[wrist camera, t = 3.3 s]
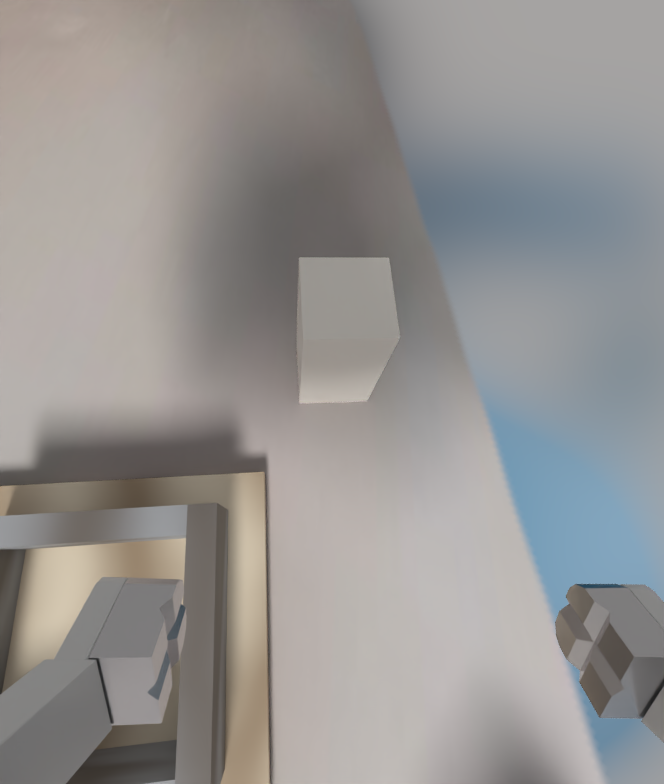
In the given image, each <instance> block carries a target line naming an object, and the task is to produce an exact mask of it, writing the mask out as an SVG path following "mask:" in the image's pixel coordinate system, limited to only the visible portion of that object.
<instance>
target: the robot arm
mask: <svg viewBox="0 0 664 784" xmlns="http://www.w3.org/2000/svg"><path fill="white" fill-rule="evenodd" d="M183 595H184V585H183V580H180V579H157V578H132V577H129V578H125V577H102V578H101V579H100V580H99V581H98V582H97V583H96V584H95V586H94V587H93V589H92V591H91V593H90V595H89V596H88V598H87V600H86V602H85V604H84V605H83V607H82V609H81V611H80V613H79V614H78V616H77V618H76V620H75V622H74V624H73V625H72V627H71V629H70V631H69V633H68V634H67V636H66V638H65V640H64V642H63V643H62V645H61V647H60V649H59V651H58V652H57V654H56V656H55V658H54V659H46V660H44V661H42V662H41V663H40V664H38V665H37V666H36V667H35V668H33V669H32V670H31V671H30V672H28V673H27V674H26V675H24V676H23V677H22V678H21V679H19V680H18V681H17V682H16V683H14V684H13V685H12V686H10V687H9V688H8V689H7V690H5V691H4V692H3V693H2V694H0V784H66V783H67V782H68V781H69V779H70V778H71V777H72V776H73V775H74V774H75V772H76V771H77V770H78V769H79V768H80V766H81V765H82V764H83V763H84V762H85V761H86V759H87V758H88V757H89V756H90V755H91V753H92V752H93V751H94V750H95V749H96V747H97V746H98V745H99V744H100V743H101V742H102V740H103V739H104V738H105V737H106V736H107V734H108V733H109V732H110V731H111V730H112V726H113V725H136V724H159V723H162V720H163V716H164V713H165V709H166V706H167V702H168V699H169V695H170V692H171V688H172V685H173V683H172V674H171V668H172V667H173V666H174V665H175V664H176V663H177V662H178V661H179V659H180V656H181V652H182V648H183V644H184V638H185V632H186V618H187V616H186V608H185V607H184V606H183V605H182V604H181V602H182V598H183ZM566 598H567V600H568V602H569V604H568V605H567V606H566V607H564V608H563V609H562V610H561V611H559V614H558V616H557V619H556V622H555V625H556V637H557V640H558V643H559V646H560V648H561V650H562V652H563V654H564V655H565V657H566V659H567V660H568V661H569V662H570V663H571V664H573V665H574V666H575V667H576V668H578V669H579V670H580V679H579V682H580V684H581V686H582V688H583V689H584V691H585V693H586V694H587V696H588V698H589V700H590V702H591V703H592V705H593V707H594V708H595V710H596V712H597V714H598V715H599V717H600V718H639V719H641V718H642V722H643V723H644V724H645V725H646V726H647V727H648V728H649V729H650V730H651V731H652V732H653V733H654V734H655V735H656V736H657V737H659V738H660V739H661V740H662V741H663V742H664V602H663V601H662V600H661V599H660V597H659V596H658V595H657V594H656V593H655V592H654V591H653V590H651V589H650V588H649V587H647V586H646V585H625V584H624V585H623V584H622V585H618V584H575V585H573V586H572V587H570V589H569V590H568V593H567V595H566Z"/></svg>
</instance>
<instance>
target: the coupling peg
mask: <svg viewBox="0 0 664 784" xmlns="http://www.w3.org/2000/svg"><path fill="white" fill-rule="evenodd" d="M399 340H400V331H399V324H398V317H397V310H396V303H395V296H394V289H393V282H392V274H391V267H390V260H389V257H299V273H298V304H297V335H296V346H297V368H298V390H299V404H305V403H332V402H360V401H368V399H369V397H370V395H371V393H372V391H373V389H374V387H375V385H376V383H377V382H378V380H379V378H380V376H381V374H382V372H383V370H384V368H385V366H386V364H387V362H388V361H389V359H390V357H391V355H392V353H393V351H394V349H395V347H396V345H397V343H398V341H399Z"/></svg>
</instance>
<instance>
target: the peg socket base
mask: <svg viewBox="0 0 664 784" xmlns="http://www.w3.org/2000/svg"><path fill="white" fill-rule="evenodd" d="M102 577H125V578H129V577H132V578H157V579H180V580H183V585H184V595H183V598H182V602H181V604H182V605H183V606H184V607H185V608H186V616H187V618H186V632H185V638H184V644H183V648H182V652H181V656H180V659H179V661H178V662H177V663H176V664H175V665H174V666H173V667H172V668H171V674H172V683H173V685H172V688H171V692H170V695H169V699H168V702H167V706H166V709H165V713H164V716H163V720H162V723H159V724H136V725H113V726H112V730H111V731H110V732H109V733H108V734H107V736H106V737H105V738H104V739H103V740H102V742H101V743H100V744H99V745H98V746H97V747H96V749H95V750H94V751H93V752H92V753H91V755H90V756H89V757H88V758H87V759H86V761H85V762H84V763H83V764H82V765H81V766H80V768H79V769H78V770H77V771H76V772H75V774H74V775H73V776H72V777H71V778H70V779H69V781H68V782H67V783H66V784H270V736H269V674H268V612H267V551H266V489H265V473H264V472H251V473H233V474H214V475H196V476H178V477H159V478H141V479H122V480H104V481H85V482H67V483H49V484H30V485H12V486H0V694H2V693H3V692H4V691H5V690H7V689H8V688H9V687H10V686H12V685H13V684H14V683H16V682H17V681H18V680H19V679H21V678H22V677H23V676H24V675H26V674H27V673H28V672H30V671H31V670H32V669H33V668H35V667H36V666H37V665H38V664H40V663H41V662H42V661H44V660H46V659H54V658H55V656H56V654H57V652H58V651H59V649H60V647H61V645H62V643H63V642H64V640H65V638H66V636H67V634H68V633H69V631H70V629H71V627H72V625H73V624H74V622H75V620H76V618H77V616H78V614H79V613H80V611H81V609H82V607H83V605H84V604H85V602H86V600H87V598H88V596H89V595H90V593H91V591H92V589H93V587H94V586H95V584H96V583H97V582H98V581H99V580H100V579H101V578H102Z"/></svg>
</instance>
